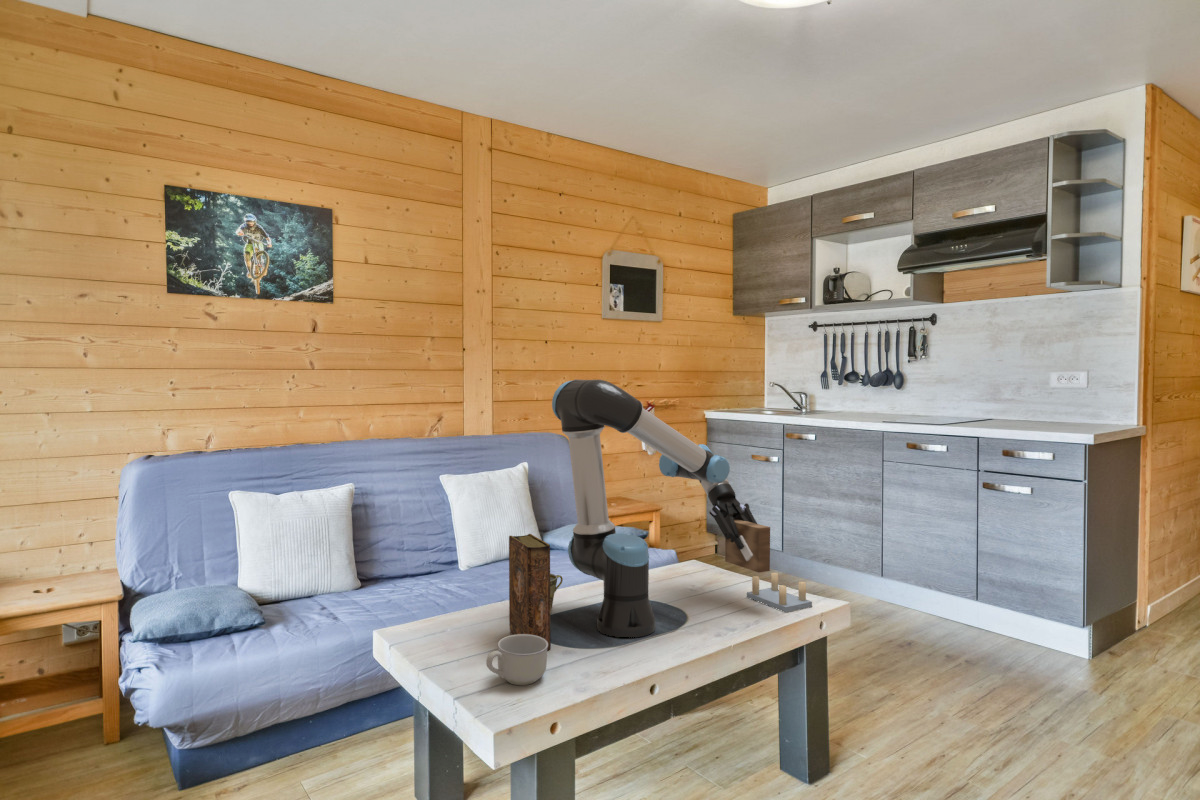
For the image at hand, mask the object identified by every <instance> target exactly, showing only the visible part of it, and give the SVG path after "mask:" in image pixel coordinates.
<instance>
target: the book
mask: <svg viewBox="0 0 1200 800" xmlns="http://www.w3.org/2000/svg"><path fill="white" fill-rule="evenodd" d="M508 570H509V571H508V584H509V585H508V586H509V587H508V590H509V591H508V594H509V595H508V597H509V599H508V601H509V604H508V605H509V606H508V607H509V610H508V611H509V612H508V613H509V615H508V616H509V621H508V623H509V633H510V634H511V635H518V634H529V635H535V636H539V637H541V638H544V639H545V640H546V641H547V642H548V648H547V653H548V652H550V651H551V650H552V649H551V641H552V640H551V639H552V637H551V633H552V632H551V614H550V573H551V544H549V543H547V542H546V541H544V540H542V539H540V538H538V537H537V536H535V535H534V534H532V533H528V534H525V535H516V536H515V535H509V536H508Z"/></svg>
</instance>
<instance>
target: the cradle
mask: <svg viewBox="0 0 1200 800" xmlns="http://www.w3.org/2000/svg"><path fill="white" fill-rule="evenodd" d="M770 577H771V578H770V579H771V581H770V586H771V587H768V588H767V587H766V588H763V589H760V577H759V576H758V575H755V576H752V578H751V583H752V584H751V586H752V587H751V588H752V589H751V591H747V592H746V598H747V597H748V598H747V599H749V598H751V599H750V600H752V599H754V600H753V601H755V600H756V601H755V602H757V601H759V602H758V603H760V602H762V603H764V604H763V605H765V604H767V605H769V606H768V607H770V606H772V607H771V608H773V607H774V608H773V609H775V608H777V609H776V610H778V609H779V610H778V611H780V610H782V611H781V612H783V611H784V612H783V613H786V612H787V613H790V612H789V611H791V612H795V611H794V610H796V611H799V610H798V609H800V610H803V609H802V608H805V609H809V608H812V607H813V600H808V599H807V583H806V581H798V596H797V595H795V594H792V593H789V592H787V586H786V585H785V584H784V585H783V584H782V585H781V584H780V585H779V573H778V572H771V573H770ZM762 603H761V604H762ZM767 605H766V606H767ZM808 607H809V608H808Z"/></svg>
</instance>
